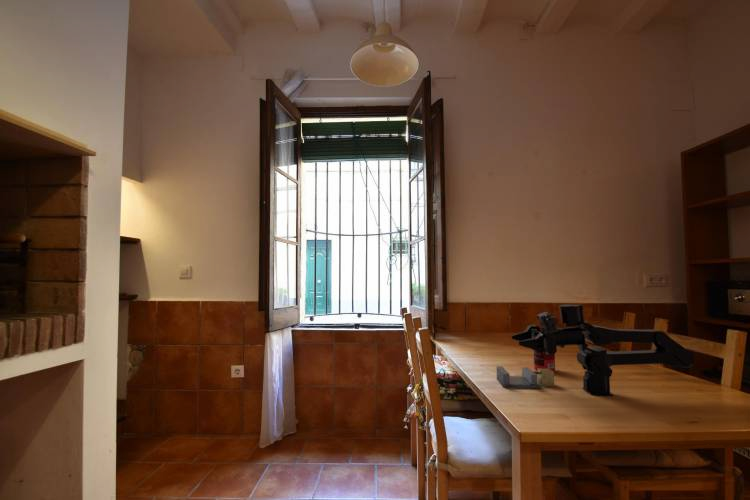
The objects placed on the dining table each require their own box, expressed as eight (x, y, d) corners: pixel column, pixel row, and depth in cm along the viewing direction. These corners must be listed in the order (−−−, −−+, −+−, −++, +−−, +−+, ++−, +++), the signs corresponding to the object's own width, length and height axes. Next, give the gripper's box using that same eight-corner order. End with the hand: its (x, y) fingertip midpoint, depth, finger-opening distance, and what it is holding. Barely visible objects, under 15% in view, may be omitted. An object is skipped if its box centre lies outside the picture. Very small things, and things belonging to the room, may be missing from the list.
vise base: (530, 380, 131) (530, 367, 131) (540, 388, 121) (540, 374, 121) (496, 379, 132) (496, 366, 132) (503, 387, 122) (503, 373, 122)
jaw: (536, 376, 131) (536, 367, 131) (546, 384, 121) (546, 375, 121) (522, 375, 131) (521, 367, 131) (531, 383, 121) (530, 374, 121)
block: (549, 383, 127) (549, 368, 128) (554, 386, 123) (553, 371, 124) (538, 383, 128) (537, 368, 128) (542, 386, 124) (541, 371, 124)
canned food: (556, 369, 146) (555, 341, 147) (554, 373, 139) (553, 344, 140) (535, 366, 150) (535, 339, 151) (532, 370, 143) (531, 342, 144)
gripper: (550, 308, 129) (505, 312, 131) (572, 316, 111) (519, 320, 113) (554, 340, 129) (509, 343, 131) (576, 353, 110) (523, 356, 112)
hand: (514, 340), depth 122 cm, fingers open, 9 cm apart
